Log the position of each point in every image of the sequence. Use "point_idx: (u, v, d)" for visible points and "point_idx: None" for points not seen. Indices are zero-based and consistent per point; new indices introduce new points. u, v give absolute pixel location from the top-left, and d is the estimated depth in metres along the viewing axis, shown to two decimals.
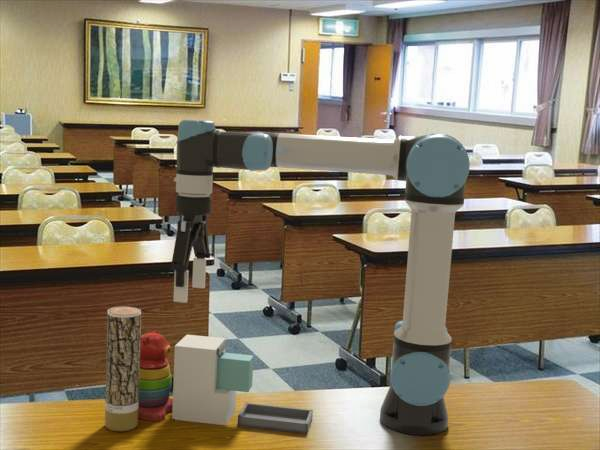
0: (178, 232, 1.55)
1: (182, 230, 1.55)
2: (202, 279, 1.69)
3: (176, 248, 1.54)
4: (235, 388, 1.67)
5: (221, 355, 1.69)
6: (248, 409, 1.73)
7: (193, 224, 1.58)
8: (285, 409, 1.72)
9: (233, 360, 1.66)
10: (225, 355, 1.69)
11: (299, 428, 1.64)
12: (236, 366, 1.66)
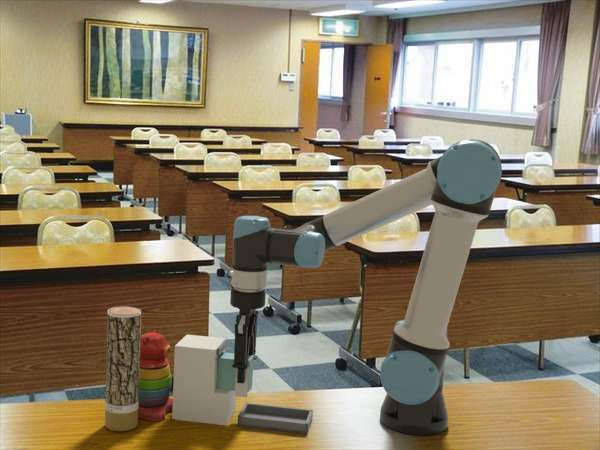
0: (236, 334, 1.61)
1: (240, 333, 1.61)
2: None
3: (236, 349, 1.62)
4: None
5: (221, 355, 1.69)
6: (248, 409, 1.73)
7: (249, 318, 1.63)
8: (285, 409, 1.72)
9: (233, 360, 1.66)
10: (225, 355, 1.69)
11: (299, 428, 1.64)
12: None
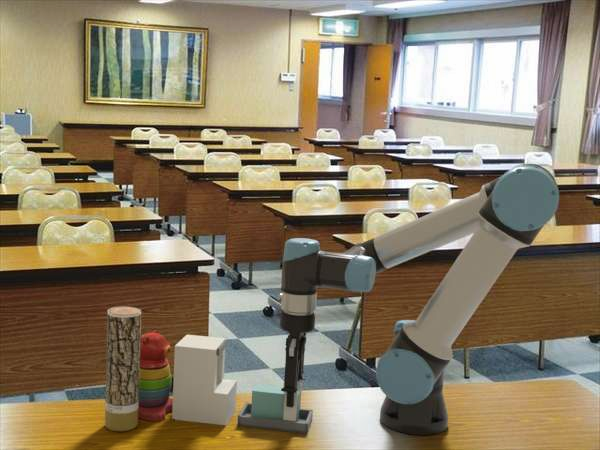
0: (286, 357, 1.60)
1: (290, 355, 1.60)
2: None
3: (286, 373, 1.61)
4: None
5: (268, 389, 1.68)
6: (248, 409, 1.73)
7: (299, 341, 1.63)
8: None
9: (281, 395, 1.66)
10: (272, 389, 1.68)
11: (299, 428, 1.64)
12: None
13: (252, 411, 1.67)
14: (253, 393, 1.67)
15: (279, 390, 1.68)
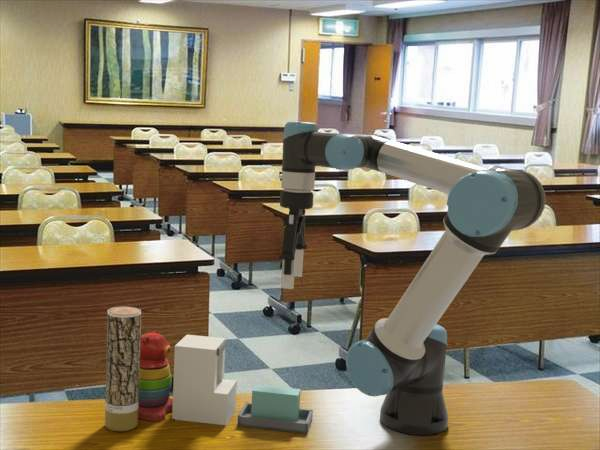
0: (286, 224, 1.69)
1: (290, 223, 1.69)
2: (300, 268, 1.84)
3: (285, 239, 1.68)
4: None
5: (268, 389, 1.68)
6: (248, 409, 1.73)
7: (298, 217, 1.72)
8: None
9: (281, 395, 1.66)
10: (272, 389, 1.68)
11: (299, 428, 1.64)
12: (284, 401, 1.66)
13: (252, 411, 1.67)
14: (253, 393, 1.67)
15: (279, 390, 1.68)
